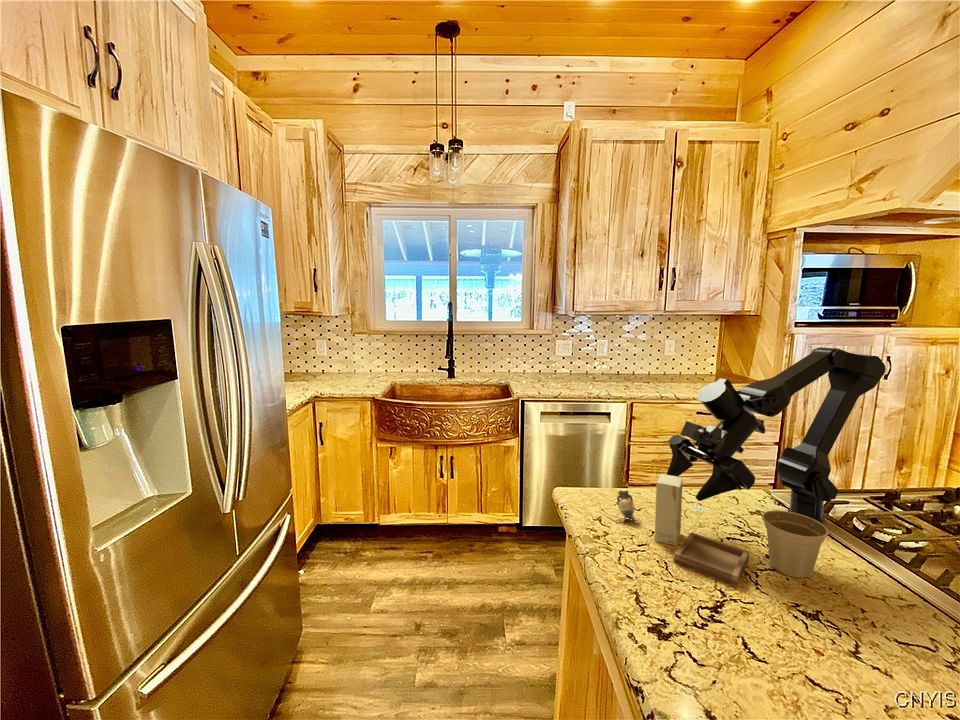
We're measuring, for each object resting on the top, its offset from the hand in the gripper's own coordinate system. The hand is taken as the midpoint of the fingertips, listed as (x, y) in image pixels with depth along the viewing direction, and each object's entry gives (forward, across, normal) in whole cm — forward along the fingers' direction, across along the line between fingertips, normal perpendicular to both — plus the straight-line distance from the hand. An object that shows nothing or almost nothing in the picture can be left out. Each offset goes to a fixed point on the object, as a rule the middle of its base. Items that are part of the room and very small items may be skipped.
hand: (680, 489), depth 84 cm
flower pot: (-1, +14, +16) cm, 21 cm away
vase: (+12, -9, +3) cm, 15 cm away
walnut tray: (+7, +9, +7) cm, 14 cm away
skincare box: (+9, 0, +5) cm, 10 cm away
